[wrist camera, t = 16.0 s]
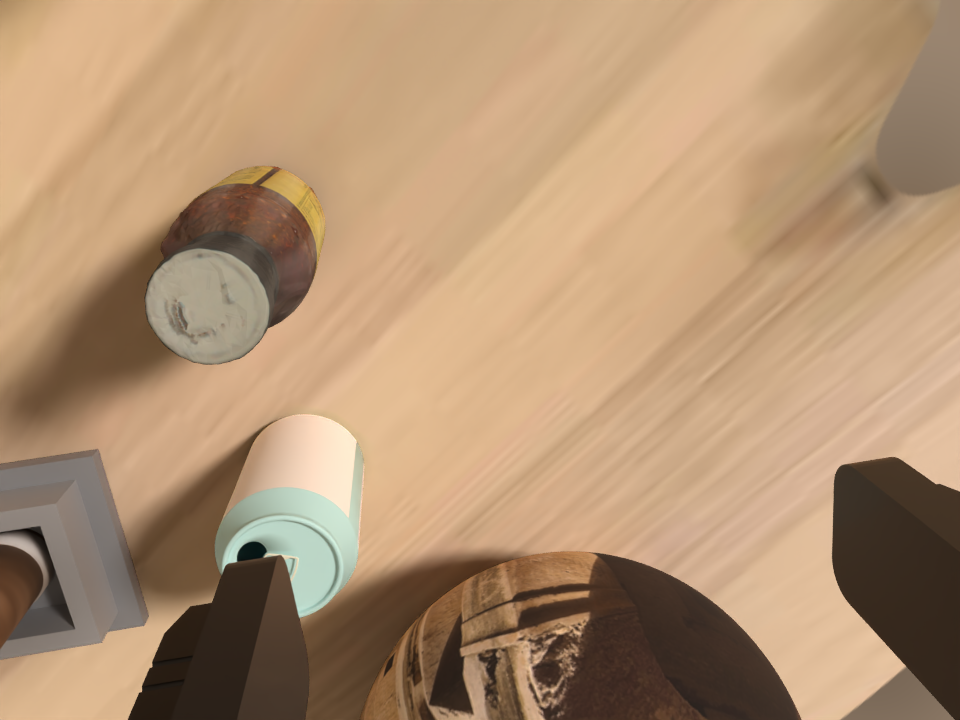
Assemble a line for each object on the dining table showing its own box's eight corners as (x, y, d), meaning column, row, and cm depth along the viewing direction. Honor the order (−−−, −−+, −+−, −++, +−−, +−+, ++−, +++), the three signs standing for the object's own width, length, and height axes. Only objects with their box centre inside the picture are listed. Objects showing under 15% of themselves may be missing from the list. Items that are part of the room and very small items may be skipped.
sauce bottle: (205, 258, 45) (71, 371, 26) (226, 148, 43) (100, 185, 24) (319, 287, 46) (270, 416, 27) (345, 182, 44) (311, 242, 26)
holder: (-109, 480, 47) (-152, 513, 43) (98, 449, 48) (72, 478, 44) (-42, 647, 51) (-76, 691, 47) (148, 616, 52) (129, 656, 48)
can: (271, 525, 50) (236, 648, 39) (233, 427, 48) (184, 528, 37) (378, 495, 51) (374, 610, 39) (345, 396, 48) (331, 487, 37)
